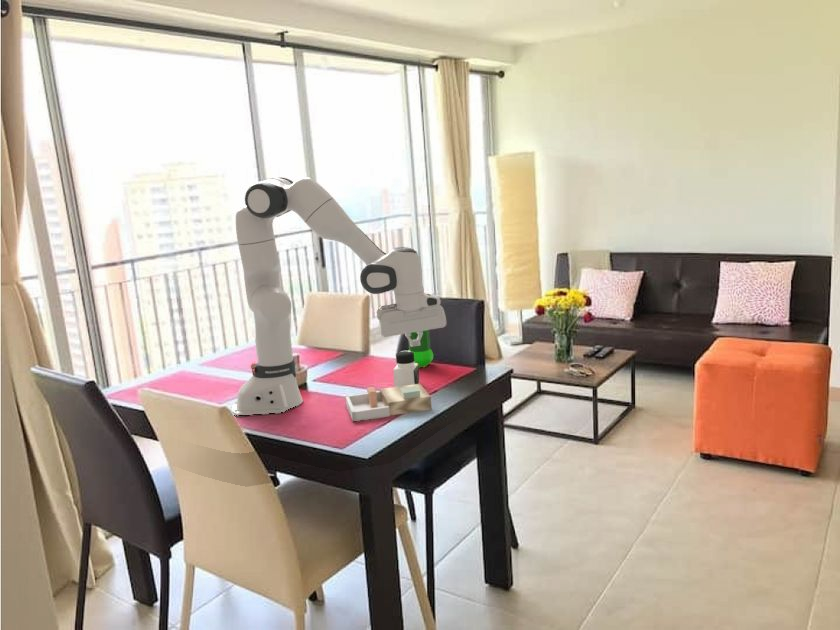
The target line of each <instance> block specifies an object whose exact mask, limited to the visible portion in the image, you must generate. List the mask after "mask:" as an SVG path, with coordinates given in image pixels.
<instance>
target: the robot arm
mask: <svg viewBox="0 0 840 630" xmlns="http://www.w3.org/2000/svg"><path fill="white" fill-rule="evenodd" d="M244 203H245V205H244V206H242V207H240V208H239V209H238V210H237V211H236V213H235V230H236V231H235V232H236V240H237V244H238V245H237V246H238V249H239V254H240V259H241V264H242V268H243V278H244V288H245V293H246V300H247V304H248V307H249V309H250V311H252V312H253V314H254V320H255V339H254V341H255V349H256V357H257V358H256V360H257V363H256V362H252V363H251V364H250V370H251V373H252V376H251V377H250V378H249V379H248V380H247V381H245V383H244V384H242V385H241V387H240V388H239V389H238V393H237V400H236V401H234V402H233V404H231V409H230V411H231V410H232V412H233V413H234V414H235V417H239V416H238V415H250V414H262V415H270V414H269V413H275V414H282V413H281V412H283V413H286V412H287V411H289V410H291V409H293V407H294V408H296V407H298V406H300V405H301V404H302V403H303V401H304V400H303V397H302V395H301V392H300V389H299V386H298V381H297V367H296V361H295V358H294V355H293V344H292V337H291V336H292V333H291V329H292V301H291V299H290V296H289V294H288V293H287V292H286V291H285V290H284V289H282V286H281V279H280V260H279V254H278V250H277V249H278V248H277V245H276V244H277V243H276V238H275V234H274V229H273V223H274V222H273V221H274V219H275V218H279V217H280V216H283V215H285V214H287V213H289V212H291V211H292V212H294V213H296V214H297V215H298V216H299V217H300V218H301V219H302V221H303V222H304V223H305V224H306V225H307V226H308V228H310V230H312V231H313V232H314V233H315V234H316V235H317V236H319V237H320V238H321V239H324V240H328V241H334V242H338V243H341V244H344V245H345V246H347V247H348V248H349V249H350V250H351V251H353V253H355V255H356V256H357V257H358V258H359V259H360V260H361V261H362V262H363V263H364V264H365V266H364V267H363V268H362V270H361V272H360V276H359V279H360V280H359V281H360V283H361V286H362V288H363V289H364V290H365V291H366V292H368V293H369V294H373V295H381V294H384V293H387V292H391V291H393V293H394V294H393V295H394V300H395V302H394V303H391V304H387V305H380V307H379V308H378V309H377V310H376V316H377V317H376V318H377V320H378V322H379V323H378V325H379V328H378V329H379V333H380V335H381V336H382V337H384V338H386V337H392V336H399V335H404V336H405V337H406V339H407V340H409V341H410V346H411V347H414V346H420V340H421V337H422V335H423V331H424V330H429V331H430V330H436V329H442V328H445V327H446V326H447V317H446V312H445V309H444V307H443V306H442V305H441V298H440V297H439V296H438V295H435V294H431V293H425V289H424V286H423V283H422V280H423V271H422V266H421V260H420V256H419V253H418V251H416V250H415V249H414V248H411V247H405V246H404V247H403V246H402V247H401V246H400V247H399V246H398V247H393V248H391V250H390V251H389V252H388V253H386V252H384V251H383V250H381V248H379V247H378V246H377V245H376V243H375V242H374V241H372V239H371V238H370V237H369V236H368V235H366V233H364V231H362V229H360V227H358V225H357V224H356V223H355V222H354V221H353V220H352V219H351V217H350V216H349V215H348V214H347V212H345V210H344V208H343V207H342V206H341V205H340V204H339V202H337V200H336V199H335V198H334V197H333V196H332V195H331V194H330V193H329V192H328V191H327V190H326V189H325V187H323V186H321V184H319V182H317V181H316V180H314V179H313V178H311V177H308V176H304V177H300V178H297V179H296V180H295V181H293V180H291V179H289V178H286V177H272V178H270V177H269V178H266V179H265V180H260V181H257V182H255V183H253V184H252V185H251V186H250V187H249V188H248V189H247V190H246V192H245V195H244ZM412 332H417V334H418V337H417V339H415V340H411V338H410V337H409V336H411V333H412ZM295 406H296V407H295ZM290 408H291V409H290ZM288 409H289V410H288ZM286 410H287V411H286ZM285 411H286V412H285ZM232 412H231V413H232ZM236 415H237V416H236ZM250 416H251V415H250Z"/></svg>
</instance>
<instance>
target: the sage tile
mask: <svg viewBox="0 0 840 630" xmlns="http://www.w3.org/2000/svg"><path fill="white" fill-rule="evenodd" d="M400 393H401V396H402V397H403V399H410V398H417V397H420V390H419V389H418V388H417V387H416V386H412V387H405V388H400Z"/></svg>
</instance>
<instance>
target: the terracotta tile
mask: <svg viewBox="0 0 840 630" xmlns="http://www.w3.org/2000/svg"><path fill="white" fill-rule="evenodd" d="M366 391H367V392H366V393H368V403H369V405H370V407H371V408H372V407H377V395H376V392H377V390H376V388H375V387H374V386H369V387H366Z"/></svg>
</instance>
